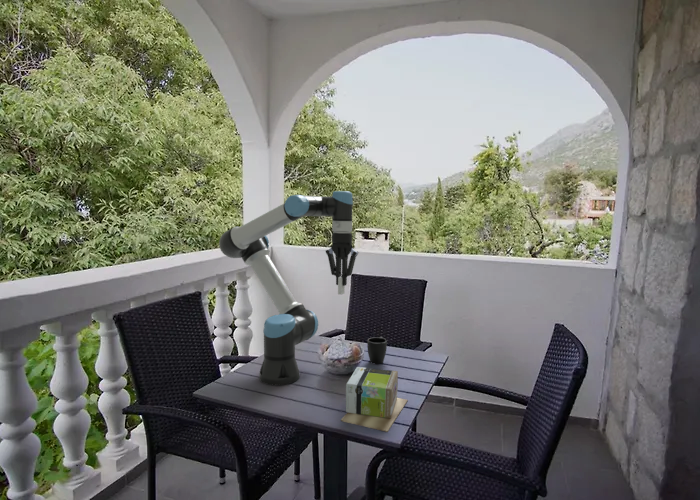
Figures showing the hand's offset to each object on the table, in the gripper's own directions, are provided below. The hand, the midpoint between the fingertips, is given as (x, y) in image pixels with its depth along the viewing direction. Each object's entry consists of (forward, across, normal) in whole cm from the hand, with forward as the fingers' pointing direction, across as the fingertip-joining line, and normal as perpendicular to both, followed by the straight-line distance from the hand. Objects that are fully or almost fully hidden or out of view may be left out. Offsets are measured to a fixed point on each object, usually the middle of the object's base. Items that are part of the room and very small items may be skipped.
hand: (341, 293), depth 160 cm
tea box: (+27, +13, -20) cm, 36 cm away
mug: (+33, +8, +22) cm, 40 cm away
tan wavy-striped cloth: (+32, +22, -21) cm, 45 cm away
